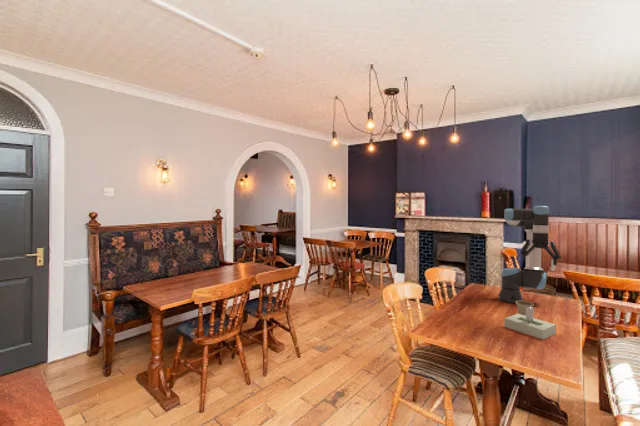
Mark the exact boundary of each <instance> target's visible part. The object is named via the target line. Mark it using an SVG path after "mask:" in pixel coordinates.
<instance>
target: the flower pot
mask: <svg viewBox="0 0 640 426" xmlns="http://www.w3.org/2000/svg"><path fill="white" fill-rule="evenodd" d="M515 304H516V306H517V307H516V308H517V314H521V315H525V316H526V306H531V307H533V308H534V305H535V304H534V303H533V302H530V301H527V300H526V301H524V300H523V301H516V303H515Z"/></svg>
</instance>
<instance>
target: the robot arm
mask: <svg viewBox="0 0 640 426" xmlns="http://www.w3.org/2000/svg"><path fill="white" fill-rule="evenodd" d="M503 212H504V215H503V216H504V220H505V223H506V224H508V225H509V226H512V227H514V228H520V229H521V228H524V229H523V230H524V231H525V233H526V243H525V245H524V247H523V248H522V250H521V251H520V254H521V255H523V259H524V261H525V267H524V268H523V270H522V269H521V268H519V267H506V268H503V269H502V270H501V289H500V292H499V294H498V300H499V301H501V302H503V303H504V302H505V303H509V304H516V301H524V299H523V295H522V292H521V288H525V289H535V290H536V289H537V290H543V289H544V288H545V286H546V282H547V272H545V270H544V268H542V249H544V250H545V251H546V252H547V253H548V255H549V256H550V257H551V258H552V259H551V260H550V261H551V263H550V264H551V269H550V271H551V272H554V271H556V266H557V265H558V260H559V259H562V256H561V254H560V252H559V250H558V248H557V247H556V242H555V241H549V232H550V230H549V228H550V227H549V225H550V224H549V222H550V221H549V220H550V219H549V215H550V207H549V206H548V205H534V206H533V207H532V208H505V209H504V211H503ZM548 245H549V246H548ZM550 247H551V248H550Z"/></svg>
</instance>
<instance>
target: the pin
mask: <svg viewBox="0 0 640 426" xmlns="http://www.w3.org/2000/svg"><path fill="white" fill-rule="evenodd" d="M534 313H535V311H534V306H533V307H531V306H526V322H528V323H532V324H533V319H534V316H535V314H534Z"/></svg>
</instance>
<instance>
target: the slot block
mask: <svg viewBox="0 0 640 426" xmlns="http://www.w3.org/2000/svg"><path fill="white" fill-rule="evenodd" d="M504 328H507V329H511V330H513V331H516V332H519V333H522V334H525V335H527V336H531V337H534V338H537V339H540V340H546V339H548V338H550V337H552V336H554V335H556V334H557V324H555V323H552V322H548V321H546V320H541V319H538V318H536V317H535V318H534V319H533V324H532V323H528V322H526V316H525V315H521V314H518V313H515V314H513V315H510V316H507V317H504Z"/></svg>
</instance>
